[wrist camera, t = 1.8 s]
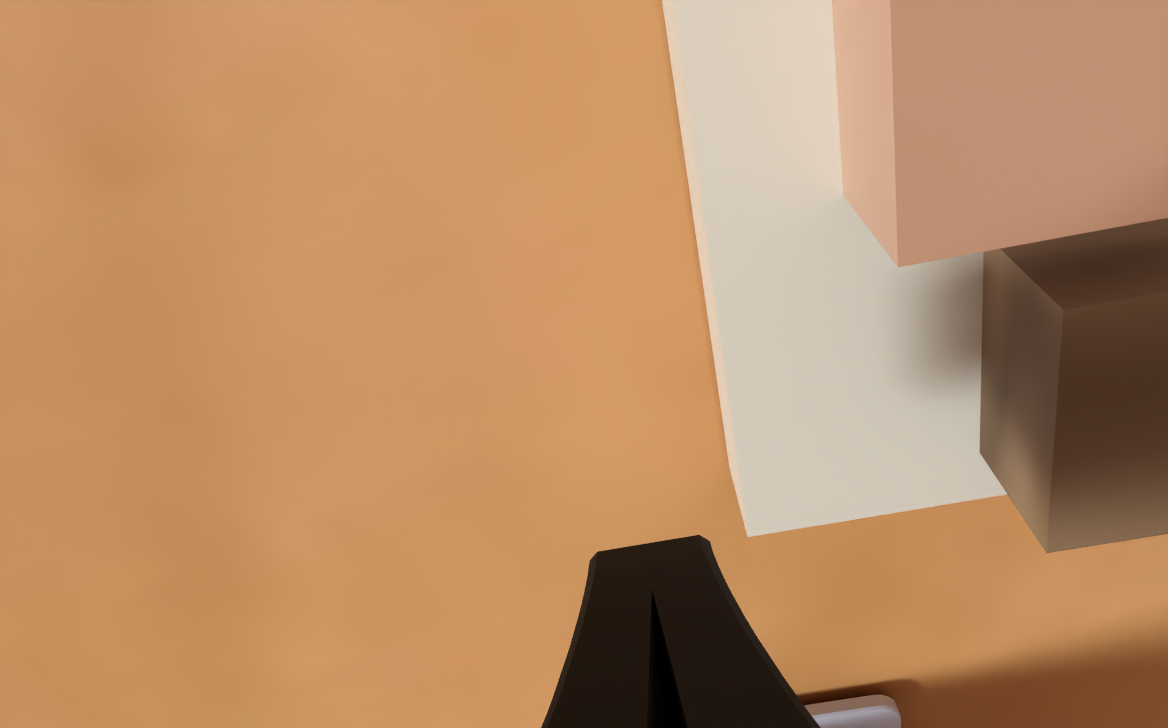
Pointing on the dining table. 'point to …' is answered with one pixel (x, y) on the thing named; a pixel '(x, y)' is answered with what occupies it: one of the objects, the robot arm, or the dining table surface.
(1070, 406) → the walnut block
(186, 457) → the dining table surface
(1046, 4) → the terracotta tile
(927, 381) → the white board
